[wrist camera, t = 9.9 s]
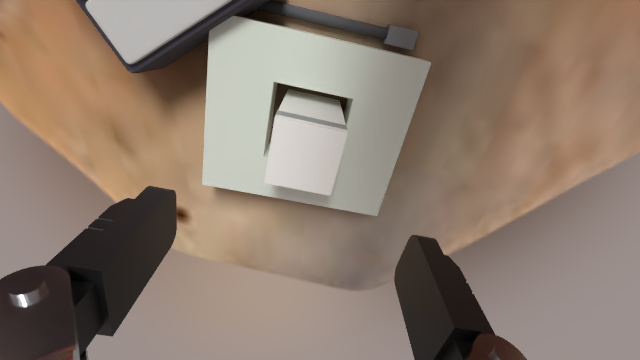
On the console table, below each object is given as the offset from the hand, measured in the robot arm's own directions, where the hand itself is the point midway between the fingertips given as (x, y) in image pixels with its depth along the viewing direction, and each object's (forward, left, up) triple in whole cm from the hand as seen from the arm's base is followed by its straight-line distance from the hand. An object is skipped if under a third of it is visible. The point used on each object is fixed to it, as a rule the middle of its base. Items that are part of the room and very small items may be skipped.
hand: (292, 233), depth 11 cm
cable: (-7, -1, -15) cm, 17 cm away
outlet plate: (0, 0, -15) cm, 15 cm away
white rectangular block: (0, 0, -15) cm, 15 cm away
